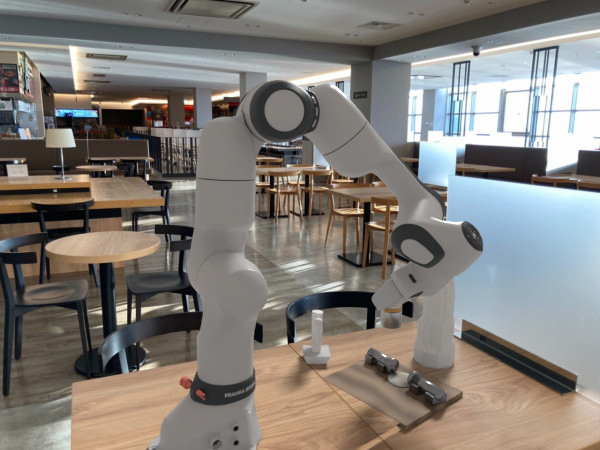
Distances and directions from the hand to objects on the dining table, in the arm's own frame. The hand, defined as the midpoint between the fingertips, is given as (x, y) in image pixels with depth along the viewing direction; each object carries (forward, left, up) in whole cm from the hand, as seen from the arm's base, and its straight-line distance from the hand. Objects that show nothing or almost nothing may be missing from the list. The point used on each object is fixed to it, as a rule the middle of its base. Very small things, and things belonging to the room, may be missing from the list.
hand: (389, 305), depth 118 cm
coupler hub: (0, -1, -5) cm, 5 cm away
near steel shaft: (+1, -11, -19) cm, 22 cm away
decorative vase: (+21, 0, -21) cm, 29 cm away
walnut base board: (-1, -3, -20) cm, 21 cm away
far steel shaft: (+4, +5, -19) cm, 20 cm away
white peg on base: (-6, +19, -21) cm, 29 cm away
